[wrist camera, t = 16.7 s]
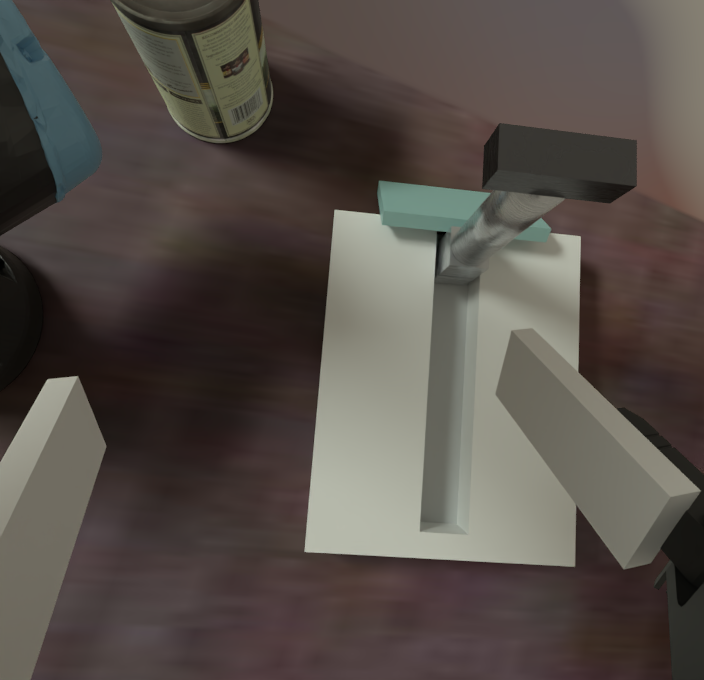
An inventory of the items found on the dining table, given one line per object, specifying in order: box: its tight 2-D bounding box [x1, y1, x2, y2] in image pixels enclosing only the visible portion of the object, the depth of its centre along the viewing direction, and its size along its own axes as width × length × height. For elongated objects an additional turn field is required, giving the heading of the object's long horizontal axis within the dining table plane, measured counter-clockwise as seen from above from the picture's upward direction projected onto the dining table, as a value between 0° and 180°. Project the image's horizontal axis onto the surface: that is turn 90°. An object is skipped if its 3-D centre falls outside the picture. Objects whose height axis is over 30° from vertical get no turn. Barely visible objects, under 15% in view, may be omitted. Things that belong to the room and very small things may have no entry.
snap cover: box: [377, 181, 551, 242], centre depth 40 cm, size 14×8×1 cm
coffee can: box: [111, 0, 273, 143], centre depth 36 cm, size 10×10×14 cm
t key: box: [434, 123, 637, 286], centre depth 31 cm, size 7×3×20 cm, turn 86°
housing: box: [305, 210, 581, 567], centre depth 39 cm, size 22×28×4 cm
